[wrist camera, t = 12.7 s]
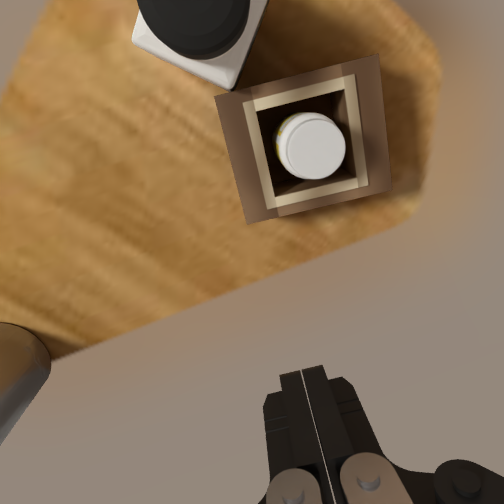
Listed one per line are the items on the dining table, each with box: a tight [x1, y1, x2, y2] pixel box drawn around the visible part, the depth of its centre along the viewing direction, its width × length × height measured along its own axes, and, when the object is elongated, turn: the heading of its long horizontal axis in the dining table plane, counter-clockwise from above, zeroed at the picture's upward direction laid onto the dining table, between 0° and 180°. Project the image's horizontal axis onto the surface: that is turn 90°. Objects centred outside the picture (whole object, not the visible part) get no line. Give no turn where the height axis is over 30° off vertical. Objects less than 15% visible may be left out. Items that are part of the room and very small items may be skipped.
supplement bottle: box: [272, 112, 345, 179], centre depth 30 cm, size 5×5×8 cm
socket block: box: [214, 54, 392, 224], centre depth 31 cm, size 12×10×5 cm
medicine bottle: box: [132, 0, 269, 92], centre depth 25 cm, size 7×7×12 cm
